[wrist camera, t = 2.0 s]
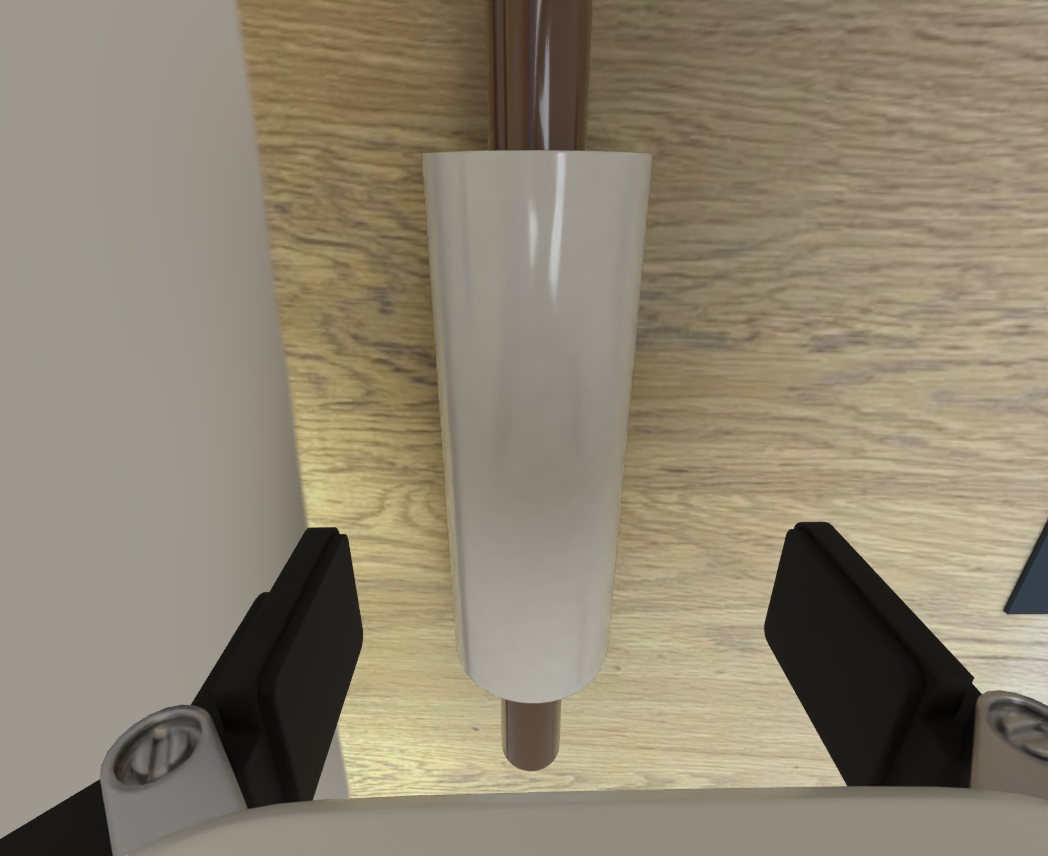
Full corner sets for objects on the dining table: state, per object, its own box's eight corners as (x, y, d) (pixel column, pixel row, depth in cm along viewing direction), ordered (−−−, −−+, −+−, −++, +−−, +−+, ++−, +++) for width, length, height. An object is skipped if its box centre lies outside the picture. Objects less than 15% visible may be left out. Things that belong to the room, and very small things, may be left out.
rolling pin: (602, 697, 25) (592, 829, 20) (483, 677, 26) (445, 798, 21) (677, -127, 13) (700, -320, 8) (449, -107, 14) (340, -266, 9)
